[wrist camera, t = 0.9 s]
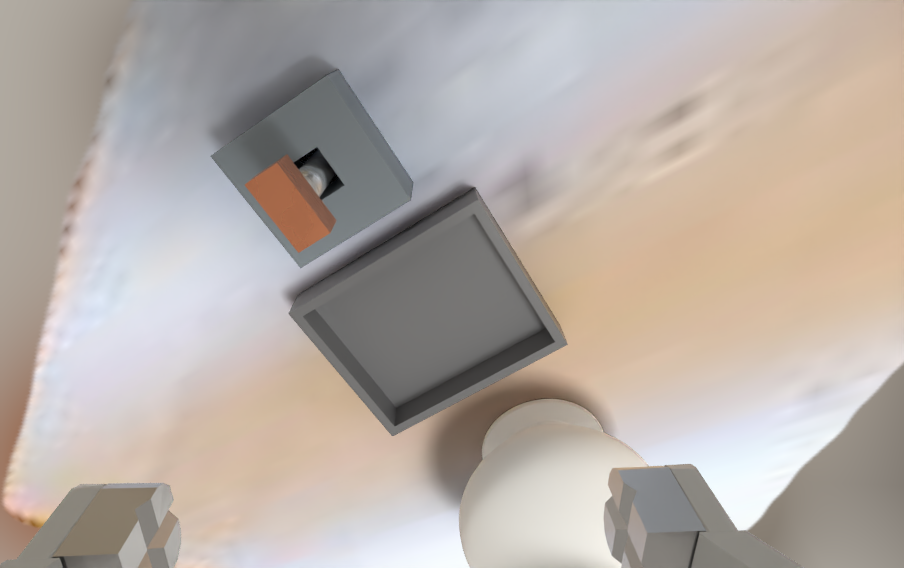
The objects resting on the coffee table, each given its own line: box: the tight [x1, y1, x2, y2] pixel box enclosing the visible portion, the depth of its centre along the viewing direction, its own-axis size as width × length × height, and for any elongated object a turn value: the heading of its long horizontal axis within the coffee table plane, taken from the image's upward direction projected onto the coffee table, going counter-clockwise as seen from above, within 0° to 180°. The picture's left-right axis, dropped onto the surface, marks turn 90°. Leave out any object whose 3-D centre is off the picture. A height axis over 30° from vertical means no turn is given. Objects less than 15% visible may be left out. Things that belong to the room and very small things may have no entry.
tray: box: [289, 188, 568, 436], centre depth 49 cm, size 18×15×4 cm
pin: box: [245, 150, 337, 253], centre depth 39 cm, size 2×5×12 cm, turn 32°
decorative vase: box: [459, 399, 648, 568], centre depth 46 cm, size 18×18×25 cm
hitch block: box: [211, 70, 413, 268], centre depth 42 cm, size 10×10×5 cm
